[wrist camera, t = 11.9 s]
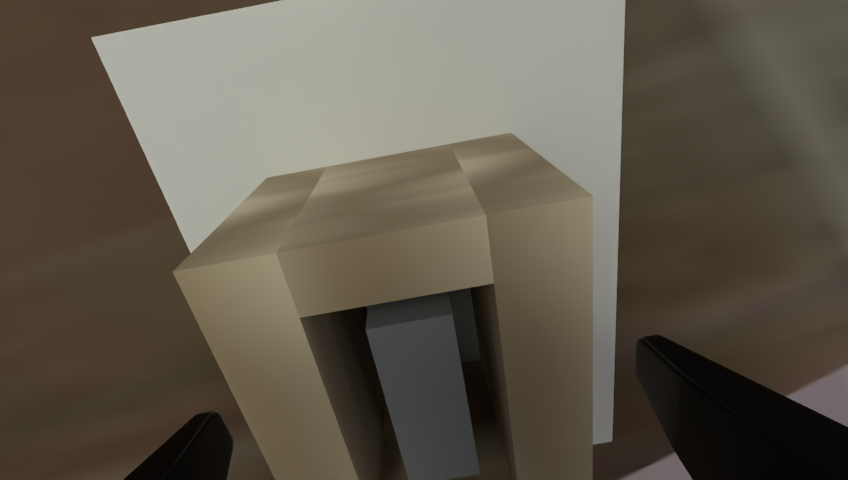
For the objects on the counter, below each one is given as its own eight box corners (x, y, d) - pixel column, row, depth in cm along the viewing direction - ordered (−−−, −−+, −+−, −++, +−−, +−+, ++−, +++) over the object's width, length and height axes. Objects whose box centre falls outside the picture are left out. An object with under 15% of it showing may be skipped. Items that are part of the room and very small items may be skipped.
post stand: (600, 419, 17) (686, 578, 12) (306, 469, 17) (269, 645, 12) (606, -57, 10) (815, -160, 5) (118, 38, 10) (-148, 30, 5)
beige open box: (510, 132, 11) (593, 195, 6) (531, 378, 14) (592, 533, 10) (266, 177, 11) (172, 271, 6) (347, 410, 14) (323, 577, 10)
